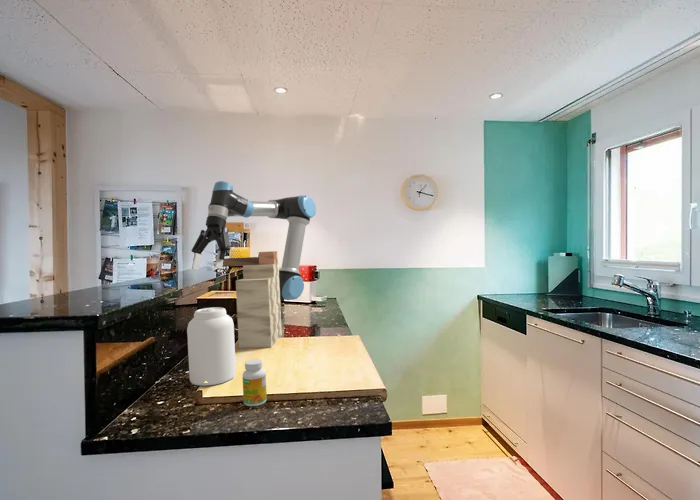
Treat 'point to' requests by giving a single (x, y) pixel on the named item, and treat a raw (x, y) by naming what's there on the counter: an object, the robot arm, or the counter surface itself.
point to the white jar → (211, 347)
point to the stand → (259, 306)
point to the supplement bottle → (254, 383)
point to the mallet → (253, 260)
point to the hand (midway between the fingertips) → (206, 268)
